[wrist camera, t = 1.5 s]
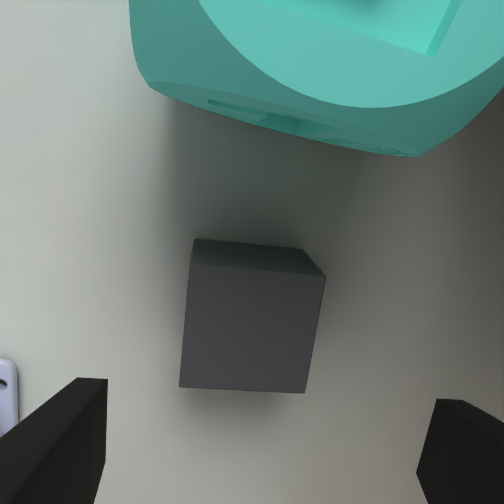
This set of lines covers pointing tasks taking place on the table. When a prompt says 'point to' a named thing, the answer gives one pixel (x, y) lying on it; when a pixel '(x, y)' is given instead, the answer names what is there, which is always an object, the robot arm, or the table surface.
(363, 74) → the decorative dice
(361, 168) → the table surface
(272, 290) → the gray block
